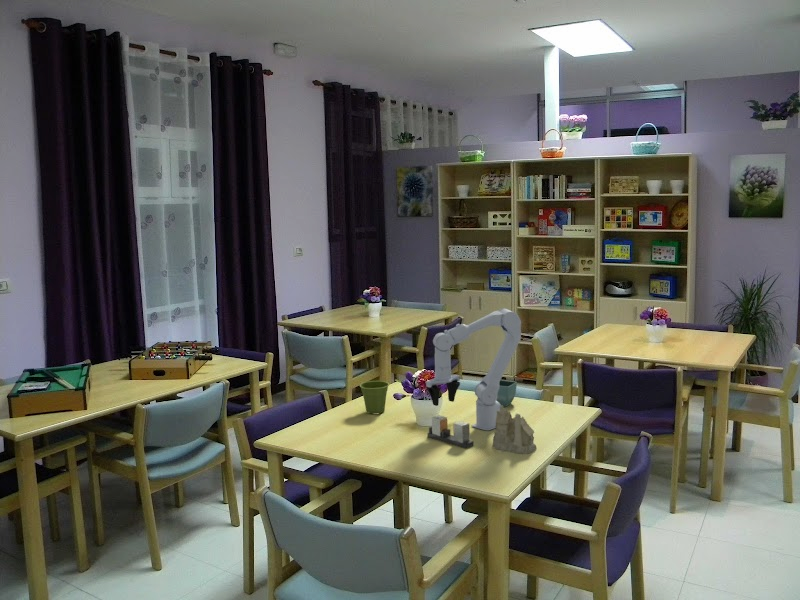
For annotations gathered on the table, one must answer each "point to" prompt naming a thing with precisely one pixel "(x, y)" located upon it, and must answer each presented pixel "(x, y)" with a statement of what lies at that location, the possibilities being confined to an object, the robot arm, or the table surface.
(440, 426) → the grey and orange block
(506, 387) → the flower pot
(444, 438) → the rail
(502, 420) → the ceramic cottage
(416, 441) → the table surface
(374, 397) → the plant pot
